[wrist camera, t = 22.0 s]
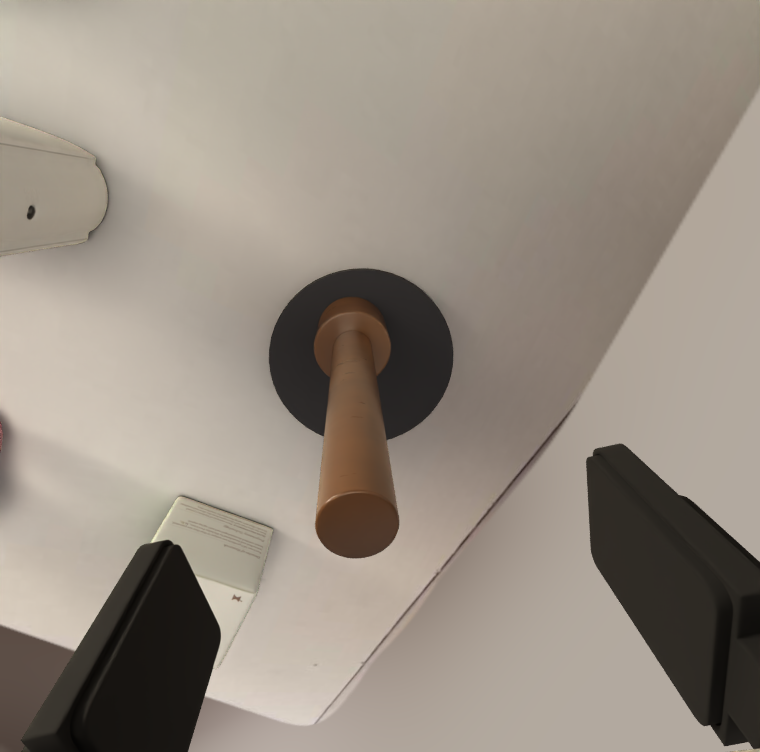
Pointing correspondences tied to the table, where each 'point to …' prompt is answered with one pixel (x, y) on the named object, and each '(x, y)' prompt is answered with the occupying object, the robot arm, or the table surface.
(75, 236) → the photo printer
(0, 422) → the video game controller
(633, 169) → the table surface
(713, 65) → the table surface
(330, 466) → the pestle
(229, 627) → the small box
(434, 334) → the coaster
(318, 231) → the table surface
